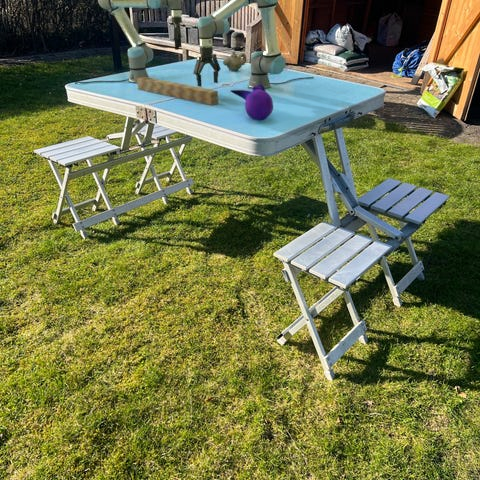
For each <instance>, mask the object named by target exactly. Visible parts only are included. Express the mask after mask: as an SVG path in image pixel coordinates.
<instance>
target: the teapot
mask: <svg viewBox="0 0 480 480" xmlns="http://www.w3.org/2000/svg"><path fill="white" fill-rule="evenodd" d="M241 59H242V60H241ZM246 63H247V55H246V53H244V52H242V53H240V54H237V53H236V51H232V52H231V55H230V57H226V58H224V59H223V61H222V65H224V66H225V67H227V69H228V71H229V72H237V71H239V70H240V69H241V68H242V67H243V66H244V65H246Z"/></svg>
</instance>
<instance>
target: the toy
mask: <svg viewBox="0 0 480 480" xmlns="http://www.w3.org/2000/svg"><path fill="white" fill-rule="evenodd" d="M230 92H231V93H232V94H234V95H235V96H238V97H240V98H242V99H243V100H245V102H244V103H245V104H244V108H245V112H246V114H247V116H248V117H249V118H250V119H252V120H254V121H265V120H266V119H268V118H269V117H270V116H271V114H272V113H273V111H274V102H273V98H272V96H271V95H270V94H269V92H267V91H266V89H265V88H264V86H263V85H257V86H254V87H253V89H252V90H243V89H231V90H230Z"/></svg>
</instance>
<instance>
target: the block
mask: <svg viewBox="0 0 480 480" xmlns="http://www.w3.org/2000/svg"><path fill="white" fill-rule="evenodd" d="M136 84H137V90H140V91H145V92H150V93H154V94H158V95H164V96H167V97H171V98H177V99H181V100H186V101H190V102H196V103H199V104H203V105H209V106H215V105H218V104H219V91H218V90H215V89H210V88H204V87H200V86H195V85H189V84H184V83H180V82H179V83H178V82H173V81H168V80H163V79H158V78H153V77H149V78H148V77H139V78H137V83H136Z"/></svg>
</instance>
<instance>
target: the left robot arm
mask: <svg viewBox="0 0 480 480" xmlns="http://www.w3.org/2000/svg"><path fill="white" fill-rule="evenodd" d="M97 2H98V4H99V7H101V8H102V9H103V10H108V11H109V13H110V15H112V16H114V18H115V20H116V21H117V23H118V25H119V26H120V28H121V30H122V31H123V33H124V35H125V37H126V39H127V41H128V42H129V44H130V45H131V47H129V48H128V49H127V57H128V66H129V76H128V78H127V79H123V80H91V81H75V82H74V83H75V84H74V85H76V84H91V83H122V82H127V81H128V82H129V83H133V84H137V78H139V77H148V78H150V76H149V74H148V71H147V67H146V64H149V63H150V62H151V61H152V60H153V58H154V51H153V49H152V48H151V47H150V46H149V45H147V43H146V41H144V40H142V38H141V36H140V35H139V33H138V31H137V30H136V28H135V26H134V24H133V22H132V21H131V19H130V17H129V15H128V13H127V12H126V10H125V8H135V9H136V8H137V9H154V10H157V9H161V8H170V16H171V19H170V20H171V21H170V22H171V23H172V24H173V41H174V50H175V51H179V50H180V48H182V38H183V36H182V31H181V30H182V29H181V23H183V19H182V18H183V17H182V14H183V11H182V0H97Z"/></svg>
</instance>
